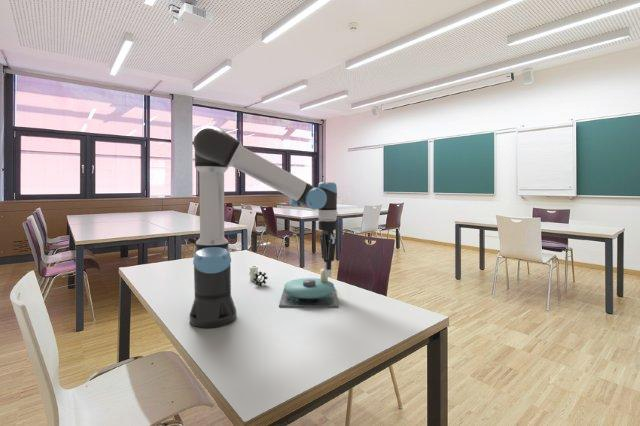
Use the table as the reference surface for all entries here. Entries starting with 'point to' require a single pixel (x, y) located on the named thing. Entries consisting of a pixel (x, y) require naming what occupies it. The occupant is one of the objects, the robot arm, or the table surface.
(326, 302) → the wheel stand
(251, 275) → the valve
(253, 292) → the table surface
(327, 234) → the robot arm
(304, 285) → the handwheel
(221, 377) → the table surface
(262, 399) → the table surface
